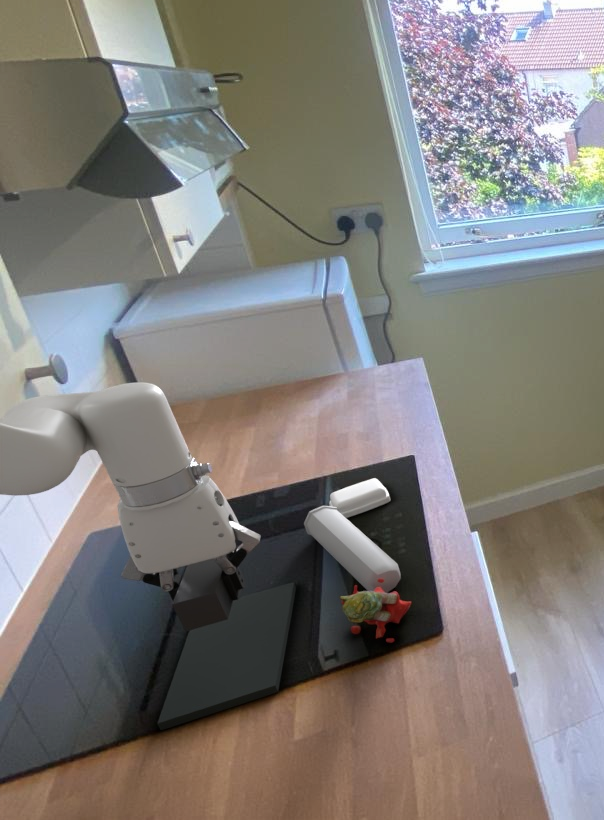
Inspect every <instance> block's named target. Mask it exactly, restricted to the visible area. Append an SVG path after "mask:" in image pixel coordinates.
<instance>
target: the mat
mask: <svg viewBox="0 0 604 820" xmlns="http://www.w3.org/2000/svg"><path fill="white" fill-rule="evenodd" d="M296 593H297V587H296V584H295V582H294V581H293V582H290V583H289V582H288V583H286V584H282V585H279V586H275V587H272V588H268V589H265V590H264V589H263V590H261V591H258V592H253V593H250V594H246V595H243V596H240V597H239V599H238V600H233V603H232V606H231V610H230V613H229V617H228V619H227V620H224V621H220V622H217V623H214V624H210V625H207V626H203V627H200V628H196V629H193V630H190V631H188V633H187V636H186V639H185V642H184V645H183V648H182V650H181V654H180V657H179V660H178V662H177V665H176V667H175V671H174V674H173V677H172V680H171V683H170V686H169V689H168V692H167V695H166V697H165V700H164V703H163V705H162V708H161V711H160V715H159V717H158V719H157V723H156V724H157V726H158V728H159V730H160V731H164V730H167V729H170V728H174V727H176V726H179V725H182V724H185V723H188V722H191V721H195V720H198V719H200V718H204V717H207V716H210V715H213V714H216V713H220V712H222V711H225V710H228V709H231V708H234V707H237V706H240V705H243V704H247V703H249V702H253V701H255V700H259V699H262V698H264V697H268V696H271V695H274V694H278V693H279V689H280V684H281V678H282V672H283V666H284V660H285V655H286V650H287V643H288V638H289V632H290V626H291V621H292V615H293V608H294V603H295V597H296Z"/></svg>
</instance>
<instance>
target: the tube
mask: <svg viewBox="0 0 604 820" xmlns="http://www.w3.org/2000/svg"><path fill="white" fill-rule="evenodd" d="M303 525H304V528H305V531H306V534H307V535H308V536H311V537H312V538H314V540H315V541H317V542H318V543H319V544H320V545H321V546H322V547H323V548H324V549H325V550H326V551H327V553H329V555H331V556H332V557H333V558H334V559H335V560H336V561H337V562H338V563H339V564H340V565H341V566H342V567H343V568H344V569H345V570H346V571H347V573H349V574H350V575H351V576H352V577H353V578H354V579H355V580H356V581H357V582H358V583H359V585H361V586H362V587H363V588H364V589H365V590H366V591H374V590H375V588H377V587H381V588H382V590H383V591H384V592H385V593H390V591H392V590H393V589H394V588H395V589H396V587H397V585H398V583H399V582H400V581H401V579H402V577H401V575H402V574H401V571H400V570H401V569H400V568H399V564H398V563H397V562H396V561H395V560H394V559H393V558H392V557H391V556H389V555H388V554H387V553H386V552H385V551H384V550H383V549H381V548H380V547H379V546H378V545H377V544H376V543H375V542H374V541H372V540H371V539H370V538H369V536H366V535H365V534H364V533H363V532H362V531H361V530H360V529H359V528H358V527H356V526H355V525H354V524H353V523H352V522H351V521H350V520H349V519H348V518H345V517H344V516H343V515H342V514H341V513H340V512H338V509H337V507H331V506H330V505H321V506H319V507H316V508H314V509H312V510H309V511H308V513H307V516H306V517H305V520H304V522H303ZM378 579H384V582H383V583H380V582H378V581H377V580H378Z"/></svg>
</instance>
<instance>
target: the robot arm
mask: <svg viewBox="0 0 604 820" xmlns="http://www.w3.org/2000/svg"><path fill="white" fill-rule="evenodd" d="M89 451H96V452H97V455H98V456H99V459H100V461H101V462H102V464H103V467H104V468H105V470H106V472H107V475H108V477H109V478H110V480H111V482H112V484H113V486H114V488H115V490H116V493H117V494H118V497H119V500H118V502H117V514H118V519H119V523H120V527H121V531H122V536H123V538H124V541H125V544H126V547H127V550H128V552H129V558H128V559H127V562H126V563H125V566H124V568H123V570H122V572H121V574H120V577H121V578H122V579H125V580H130V581H137V582H140V581H141V582H143V583H145V584H147V585H151V586H156V587H159V588H160V589H161V591H163V592H168V594H169V596H170V598H171V600H172V602H173V601H174V598H175V595H176V593H177V590H178V588H179V585H180V583H181V580H182V578H183V575H184V574H182V575H180V574H179V568H182V567H187V565H190V564H194V563H198V562H202V561H206V560H209V559H213V560H214V561H215V562H216V563H217V564H218V566H219V567H220V568H221V569H222V570H223V576H222V579H223V582H224V584H225V586H226V588H227V591H228V593H229V595H230V597H231V599H232V600H238V599H239V597H241V592H242V590H243V589H245V587H246V580H245V578H244V576H243V573H242V571H241V568H240V565H241V564H242V562H243V561H244V560H245V558H246V557H247V555H248V554H249V553H251V552H252V551H253V550H254V549H255V548H256V547H258V545H259V544H260V542H261V538H262V536H261V534H259V533H257V532H255V531H253V530H251V529H250V528H247V527H245V526H244V525H241V524H240V522H239V521H238V518H237V516H236V513H235V512H234V510H233V509H232V507H231V505H230V503H229V502H228V500H227V498H226V497H225V496H224V494H223V492H222V491H221V490H220V488H219V486H218V485H217V484H216V482H215V481H214V479H212V478H211V477H210V476H209V474H212V473H213V466H212V465H211V463H210V462H206V463H202V462H201V463H199V462H198V461H197V460H196V458H195V457H192V454H191V452H190V450H189V447H188V445H187V442H186V441H185V437H184V435H183V433H182V431H181V429H180V427H179V424H178V422H177V420H176V417H175V415H174V413H173V410H172V408H171V406H170V404H169V401H168V399H167V397H166V395H165V393H164V391H163V390H162V389H161V388H160V387H159V386H157V385H156V384H154V383H151V382H143V381H142V382H141V381H138V382H137V381H136V382H128V383H122V384H121V383H120V384H117V385H112V386H110V387H106V388H103V389H101V390H97V391H85V392H72V393H70V392H69V393H57V394H45V395H39V396H34V397H33V396H32V397H29V398H27V399H24V400H21V401H18V402H17V403H16V404H14V405H12V406H11V407H10V408H9V409H8V410H7V411H6V412H5V413H4V415H3V416H2V417H1V418H0V495H1V496H13V497H15V496H16V497H17V496H30V495H37V494H41V493H44V492H48V491H50V490H52V489H54V488H56V487H58V486H59V485H61V484H62V483H63V482H65V481H66V480H67V479H68V478H69V477H70V476H71V475H72V473H73V471H75V468H76V466H77V465H78V463H79V461H80V458H81V457H82V456H83V455H85V454H86V453H87V452H89ZM236 541H239V542H241V544H239V545H238V546H237V543H236Z"/></svg>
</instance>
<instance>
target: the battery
mask: <svg viewBox="0 0 604 820" xmlns="http://www.w3.org/2000/svg"><path fill="white" fill-rule="evenodd" d="M182 575H183V578H182V580H181V583H180V585H179V588H178V590H177V593H176V595H175V598H174V601H173V600H172V603H171V606H172V607H173V610H174V611H175V613H176V616H177V617H178V620H179V622H180V623H181V626H182V627H183V630H184V631H185V633H186V632H189V631H190V630H193V629H196V628H200V627H203V626H207V625H210V624H214V623H217V622H220V621H224V620H227V619H228V617H229V613H230V610H231V606H232V603H233V600H232V599H231V597H230V595H229V593H228V591H227V588H226V586H225V584H224V582H223V579H222V576H223V570H222V569H221V568H220V567H219V566H218V564H217V563H216V562H215V561H214V560H213V559H209V560H206V561H202V562H198V563H194V564H190V565H187V566H185V570H184V573H183V574H182Z"/></svg>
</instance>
